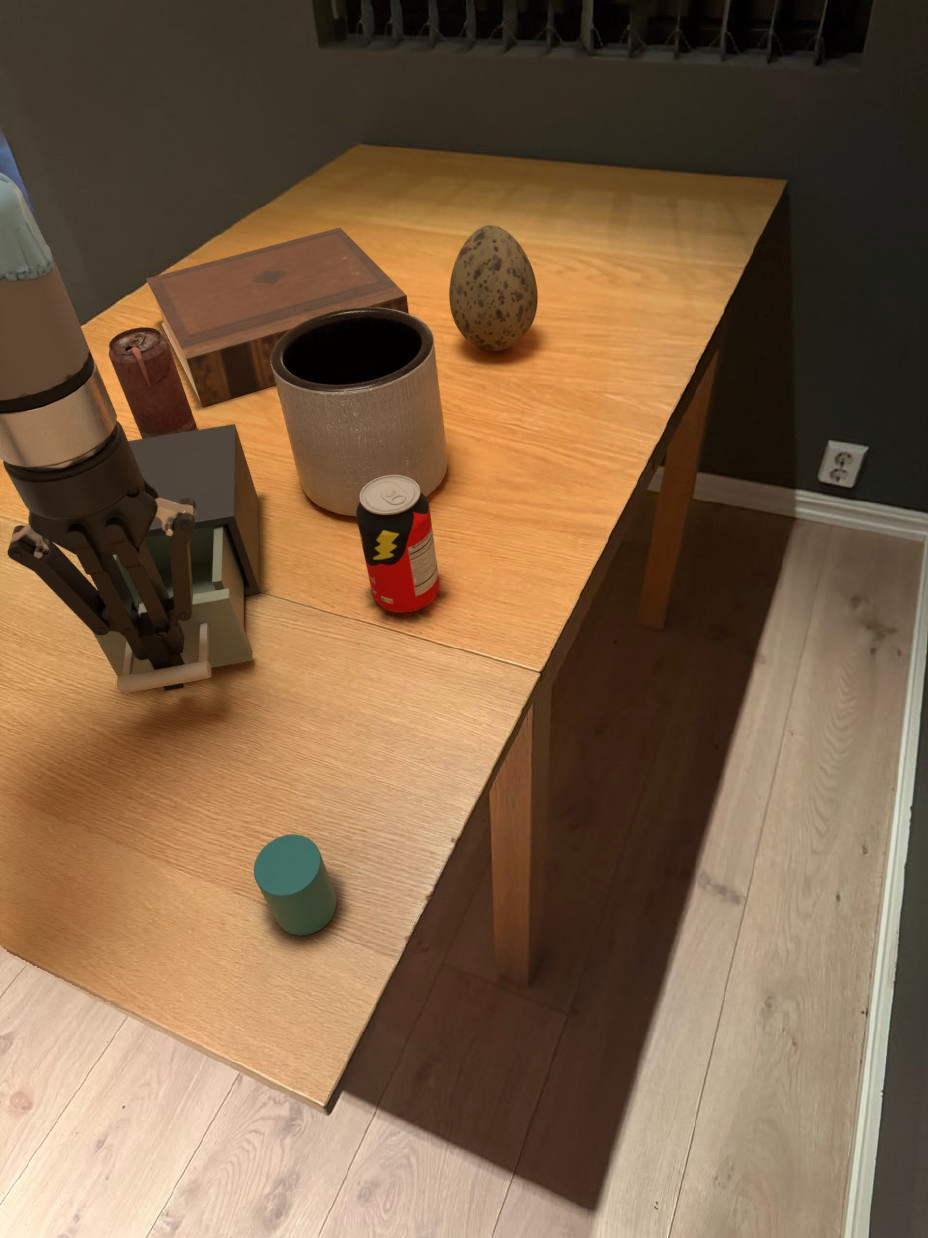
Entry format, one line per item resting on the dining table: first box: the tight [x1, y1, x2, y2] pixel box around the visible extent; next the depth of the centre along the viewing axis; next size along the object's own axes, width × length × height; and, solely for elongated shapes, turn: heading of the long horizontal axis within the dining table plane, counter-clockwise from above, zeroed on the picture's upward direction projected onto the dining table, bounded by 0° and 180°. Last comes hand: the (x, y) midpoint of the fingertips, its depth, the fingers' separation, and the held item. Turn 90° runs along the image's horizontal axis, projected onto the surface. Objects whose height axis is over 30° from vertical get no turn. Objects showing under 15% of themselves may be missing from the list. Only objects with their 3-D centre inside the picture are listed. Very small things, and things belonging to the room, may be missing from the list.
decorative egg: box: [448, 224, 539, 352], centre depth 107 cm, size 11×11×15 cm
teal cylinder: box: [253, 834, 338, 937], centre depth 60 cm, size 4×4×6 cm
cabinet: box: [128, 423, 261, 597], centre depth 85 cm, size 15×13×10 cm
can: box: [108, 326, 199, 439], centre depth 97 cm, size 6×6×14 cm
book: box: [145, 227, 410, 408], centre depth 117 cm, size 24×28×6 cm
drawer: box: [92, 524, 253, 695], centre depth 76 cm, size 19×11×8 cm, turn 10°
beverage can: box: [355, 475, 440, 613], centre depth 78 cm, size 6×6×12 cm
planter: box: [270, 307, 448, 517], centre depth 90 cm, size 16×16×16 cm
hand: (174, 677), depth 73 cm, fingers closed
